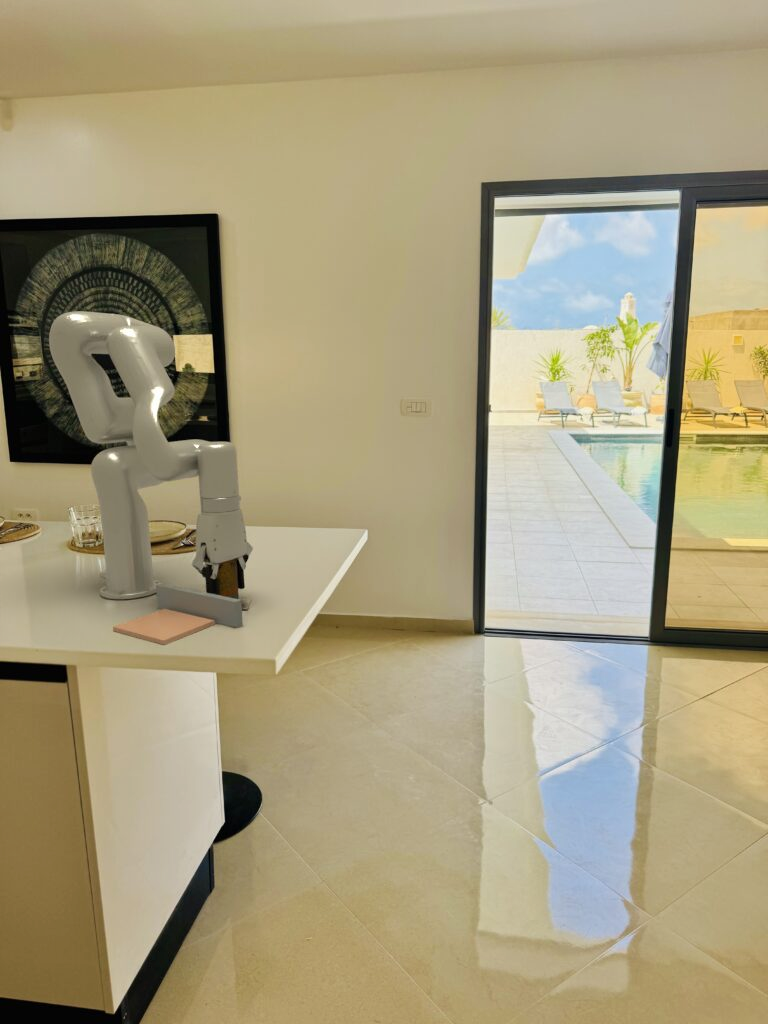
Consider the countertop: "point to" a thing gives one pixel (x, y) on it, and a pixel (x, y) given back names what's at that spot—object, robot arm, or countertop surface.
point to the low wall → (200, 604)
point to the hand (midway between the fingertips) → (225, 591)
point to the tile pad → (163, 626)
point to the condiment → (230, 581)
